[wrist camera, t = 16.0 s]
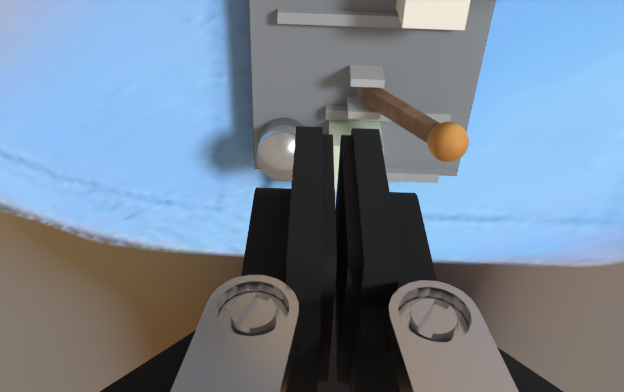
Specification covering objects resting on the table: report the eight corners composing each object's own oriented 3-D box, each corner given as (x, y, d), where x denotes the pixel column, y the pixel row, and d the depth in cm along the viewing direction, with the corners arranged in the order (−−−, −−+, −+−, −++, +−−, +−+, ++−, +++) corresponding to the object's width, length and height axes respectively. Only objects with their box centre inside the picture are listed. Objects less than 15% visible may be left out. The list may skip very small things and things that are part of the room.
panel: (249, -100, 38) (241, -87, 34) (506, -90, 38) (525, -76, 34) (256, 157, 50) (252, 187, 46) (451, 164, 50) (461, 194, 46)
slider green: (329, 119, 45) (329, 146, 42) (379, 121, 45) (384, 147, 42) (326, 161, 47) (326, 190, 44) (374, 163, 47) (378, 191, 44)
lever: (348, 76, 41) (452, 138, 35) (376, 68, 43) (481, 127, 36) (346, 108, 43) (444, 174, 36) (372, 100, 44) (472, 162, 37)
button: (259, 116, 45) (255, 136, 42) (310, 118, 45) (309, 138, 43) (260, 159, 47) (257, 180, 45) (308, 161, 47) (307, 182, 45)
